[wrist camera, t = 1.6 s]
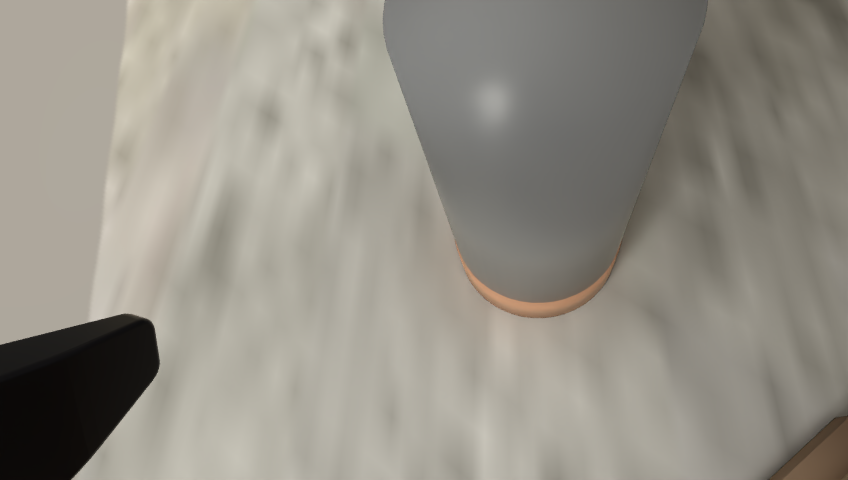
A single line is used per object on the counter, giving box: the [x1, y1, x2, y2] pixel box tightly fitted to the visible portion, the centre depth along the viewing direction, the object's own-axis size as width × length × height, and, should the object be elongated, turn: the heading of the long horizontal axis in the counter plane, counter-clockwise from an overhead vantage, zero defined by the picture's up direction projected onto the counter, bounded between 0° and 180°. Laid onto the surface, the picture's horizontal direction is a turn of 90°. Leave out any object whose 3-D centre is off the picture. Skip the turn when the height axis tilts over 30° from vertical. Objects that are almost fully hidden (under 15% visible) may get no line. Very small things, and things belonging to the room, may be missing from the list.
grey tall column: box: [383, 0, 708, 318], centre depth 17 cm, size 6×6×13 cm
